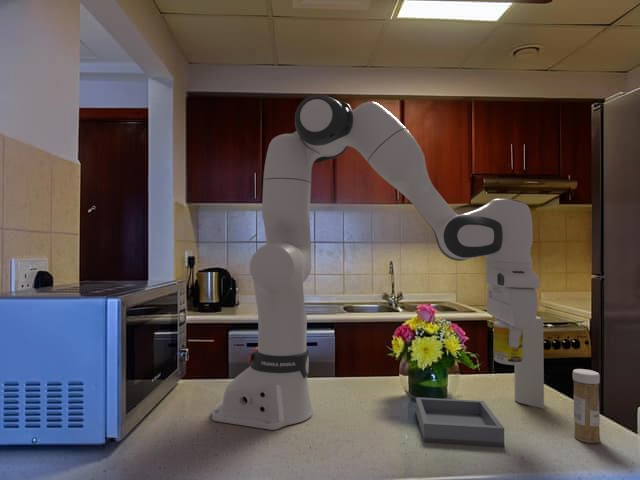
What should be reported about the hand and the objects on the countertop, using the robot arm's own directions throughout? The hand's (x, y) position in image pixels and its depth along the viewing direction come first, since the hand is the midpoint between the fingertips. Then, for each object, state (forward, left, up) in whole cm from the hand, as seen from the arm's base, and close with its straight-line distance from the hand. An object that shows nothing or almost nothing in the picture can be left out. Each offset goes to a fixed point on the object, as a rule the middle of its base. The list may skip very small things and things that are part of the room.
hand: (507, 343), depth 87 cm
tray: (-10, 0, -18) cm, 21 cm away
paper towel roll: (+11, +19, -19) cm, 29 cm away
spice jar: (+15, -1, -19) cm, 24 cm away
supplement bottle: (0, 0, -4) cm, 4 cm away
